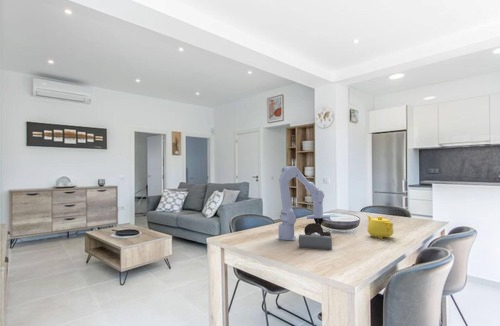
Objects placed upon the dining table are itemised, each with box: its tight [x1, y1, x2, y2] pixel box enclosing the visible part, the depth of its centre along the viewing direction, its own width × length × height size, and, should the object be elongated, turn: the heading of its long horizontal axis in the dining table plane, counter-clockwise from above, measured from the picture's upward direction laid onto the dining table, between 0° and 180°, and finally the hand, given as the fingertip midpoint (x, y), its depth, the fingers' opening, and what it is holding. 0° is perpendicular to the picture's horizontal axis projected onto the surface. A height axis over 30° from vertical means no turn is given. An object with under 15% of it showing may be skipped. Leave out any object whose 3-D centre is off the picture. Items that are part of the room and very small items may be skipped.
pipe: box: [304, 222, 332, 236], centre depth 159 cm, size 10×15×15 cm
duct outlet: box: [298, 233, 333, 250], centre depth 148 cm, size 17×5×7 cm, turn 73°
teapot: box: [366, 214, 394, 240], centre depth 168 cm, size 13×20×12 cm
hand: (318, 230), depth 175 cm, fingers closed
